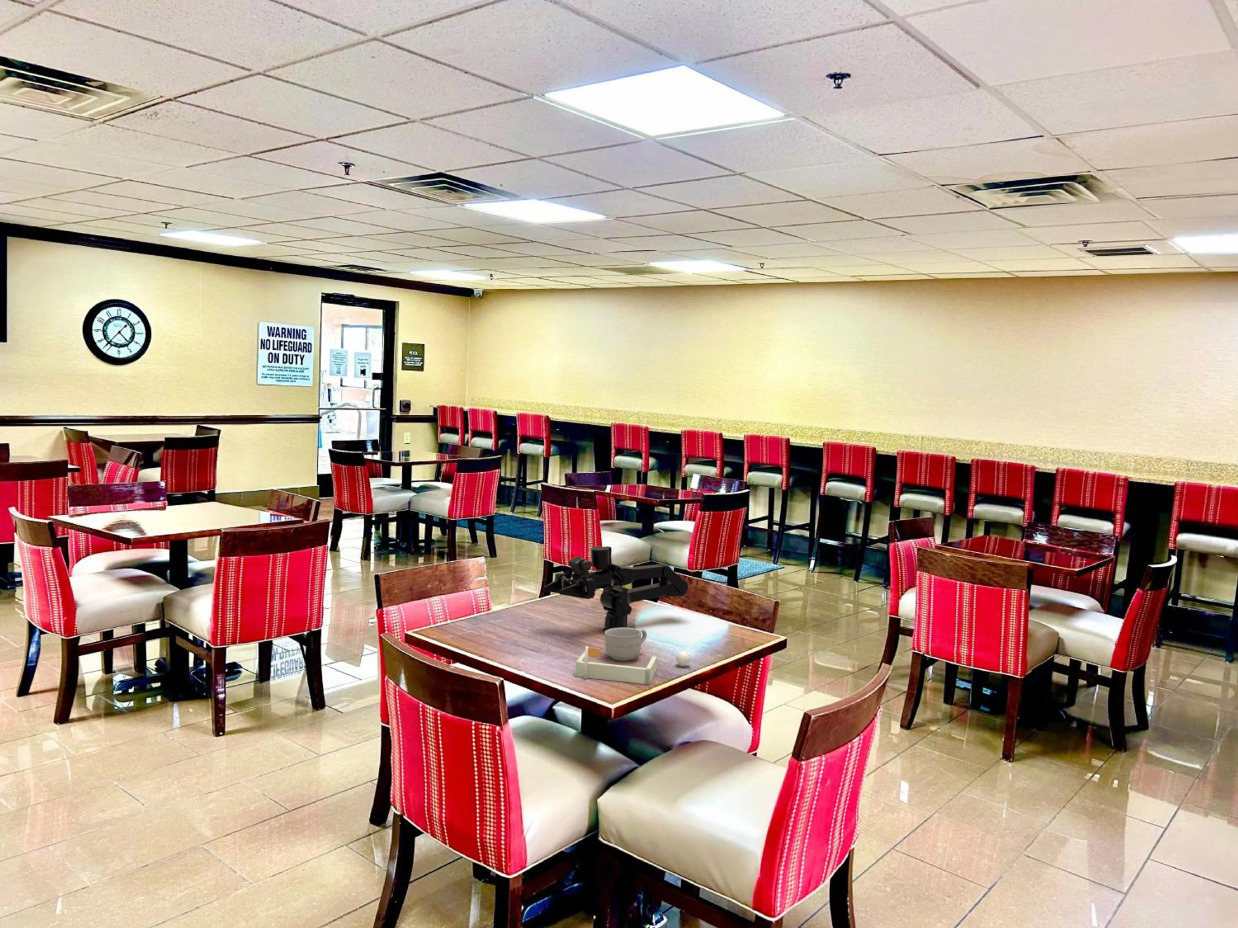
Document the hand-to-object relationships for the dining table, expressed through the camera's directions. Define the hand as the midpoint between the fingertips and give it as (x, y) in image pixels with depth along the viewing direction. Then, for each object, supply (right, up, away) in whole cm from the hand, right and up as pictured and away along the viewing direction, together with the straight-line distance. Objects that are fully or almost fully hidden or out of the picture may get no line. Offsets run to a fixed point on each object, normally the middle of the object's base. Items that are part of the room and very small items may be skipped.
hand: (551, 590), depth 267 cm
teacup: (+23, -18, -10) cm, 31 cm away
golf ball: (+39, -17, -16) cm, 46 cm away
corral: (+20, -19, -26) cm, 38 cm away
